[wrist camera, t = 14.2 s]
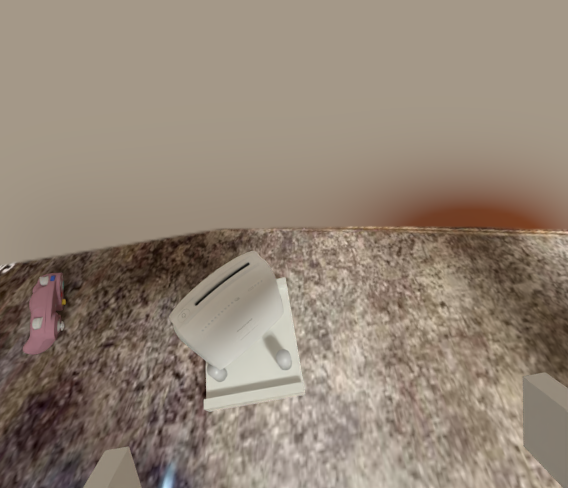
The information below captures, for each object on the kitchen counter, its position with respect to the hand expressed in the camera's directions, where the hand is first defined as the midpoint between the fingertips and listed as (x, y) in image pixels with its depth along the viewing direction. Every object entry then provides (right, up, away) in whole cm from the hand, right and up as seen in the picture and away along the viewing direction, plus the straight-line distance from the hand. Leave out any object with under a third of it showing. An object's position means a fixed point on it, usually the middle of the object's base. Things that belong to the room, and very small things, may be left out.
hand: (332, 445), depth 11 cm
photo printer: (-6, -3, +27) cm, 28 cm away
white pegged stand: (-6, -6, +30) cm, 31 cm away
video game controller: (-33, -4, +34) cm, 47 cm away
